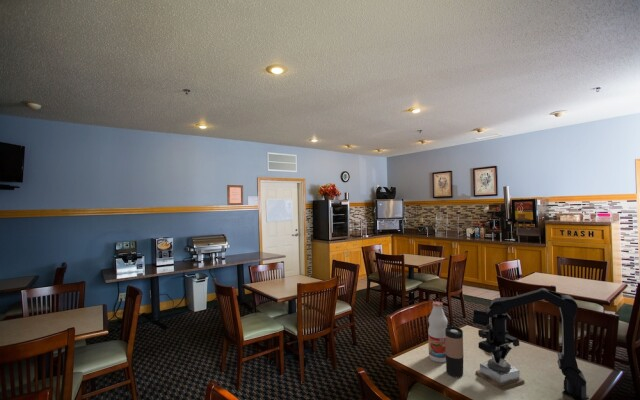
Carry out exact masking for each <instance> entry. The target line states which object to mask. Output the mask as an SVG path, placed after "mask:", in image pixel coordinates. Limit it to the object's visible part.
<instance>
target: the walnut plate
mask: <svg viewBox="0 0 640 400" xmlns="http://www.w3.org/2000/svg"><path fill="white" fill-rule="evenodd" d="M475 374H476V375H477V376H479V377H481V378H482V379H484V380H485V381H487V382H489V383H491V384H492V385H494V386H495V387H497V388H499V389H500V390H502V391H504V390H507V389H510V388H513V387H517V386H519V385H523V384H525V383H526V382H525V380H524V379H523V378H521V377H520V379H518V380H515V381H512V382H509V383H506V384H502V385H501V384H499V383H497V382H496V381H494V380H492V379H491V378H489V377H487V376H486V375H484V374H482V373H481V372H480V369H477V370H476V371H475Z"/></svg>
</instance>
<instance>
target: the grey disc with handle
mask: <svg viewBox="0 0 640 400" xmlns="http://www.w3.org/2000/svg"><path fill="white" fill-rule="evenodd" d="M487 361H488V366H489V367H490V368H492V369H494V370H496V371H499V372H508V371H510V370H511V366H512V365H511V364H510V363H509V362H508V361H507V360H506V359H502V358H500V362H499V364H498V363H496V361H495V358H494V356H493V354H492V355H491V359H488V360H487Z"/></svg>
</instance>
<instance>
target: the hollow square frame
mask: <svg viewBox="0 0 640 400" xmlns="http://www.w3.org/2000/svg"><path fill="white" fill-rule="evenodd" d="M479 370H480V372H481V373H482V374H484V375H486V376H487V377H489V378H491V379H492V380H494V381H496V382H497V383H499V384H501V385H502V384H506V383H509V382H512V381H515V380H518V379H520V378H521V377H520V369H518V368H516V367H514V366H513V365H511V370H510V371H508V372H499V371H496V370H494V369H492V368H490V367H489V366H488V360H487V361H483V362H480V363H479Z"/></svg>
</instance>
